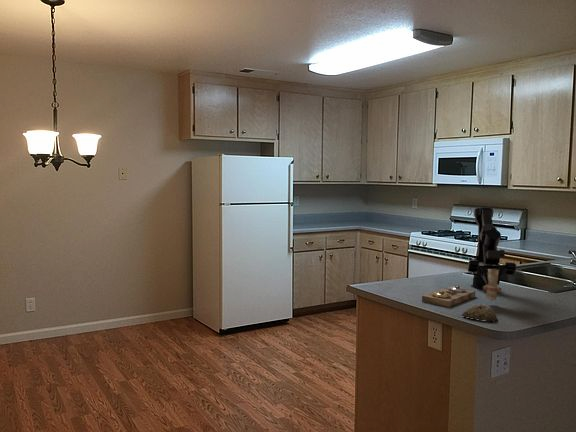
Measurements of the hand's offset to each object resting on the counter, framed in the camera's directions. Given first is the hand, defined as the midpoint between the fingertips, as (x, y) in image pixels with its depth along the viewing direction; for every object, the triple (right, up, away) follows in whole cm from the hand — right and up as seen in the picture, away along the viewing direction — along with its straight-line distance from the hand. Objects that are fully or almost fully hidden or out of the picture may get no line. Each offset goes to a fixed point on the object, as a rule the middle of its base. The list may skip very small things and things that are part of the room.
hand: (492, 284), depth 208 cm
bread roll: (-11, -11, -16) cm, 22 cm away
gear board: (-15, -8, +10) cm, 20 cm away
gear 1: (-20, -6, +5) cm, 21 cm away
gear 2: (-10, -5, +16) cm, 19 cm away
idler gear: (0, -6, +2) cm, 7 cm away
